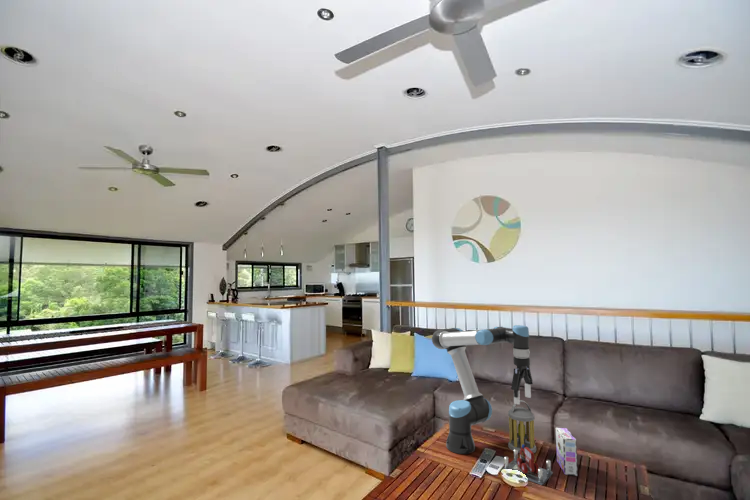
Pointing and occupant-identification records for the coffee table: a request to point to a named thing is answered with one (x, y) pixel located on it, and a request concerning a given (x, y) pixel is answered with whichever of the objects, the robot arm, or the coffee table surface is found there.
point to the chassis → (532, 476)
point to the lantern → (521, 428)
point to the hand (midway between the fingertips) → (522, 400)
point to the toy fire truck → (527, 460)
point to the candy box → (566, 451)
